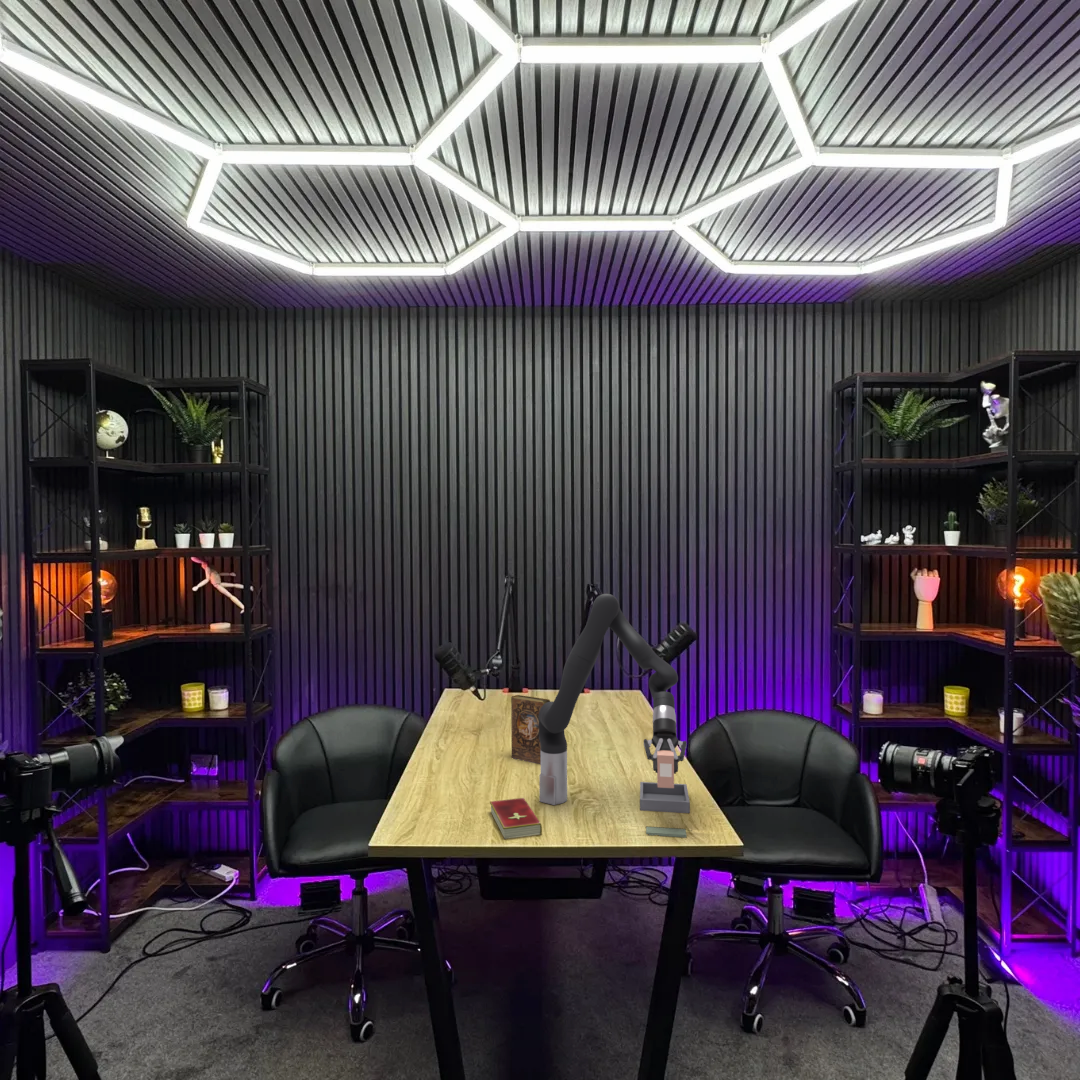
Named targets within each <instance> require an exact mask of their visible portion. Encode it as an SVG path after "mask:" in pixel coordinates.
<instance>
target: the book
mask: <svg viewBox="0 0 1080 1080" xmlns="http://www.w3.org/2000/svg"><path fill="white" fill-rule="evenodd" d="M510 698H511V701H510V702H511V708H510V709H511V712H510V713H511V716H510V717H511V718H510V720H511V723H510V724H511V725H510V726H511V733H510V734H511V736H510V737H511V759H512V758H513V759H514V760H517V759H519V760H518V761H522V760H524V761H523V762H527V761H528V762H529V763H531V764H532V763H533V764H538V765H541V747H540V741H539V711H540V709H541V707H542V706H543V705H544V704H545V703H547V702H551V700H550V699H549V698H542V697H536V696H535V697H534V696H529V695H522V694H521V695H520V694H517V695H512V696H511V697H510ZM513 759H512V760H513Z"/></svg>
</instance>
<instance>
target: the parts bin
mask: <svg viewBox="0 0 1080 1080" xmlns="http://www.w3.org/2000/svg"><path fill="white" fill-rule="evenodd" d="M690 803H691V802H690V796H689V790H688V785H687V784H686V783H674V788H660V787H658V785H657V782H652V781H651V782H650V781H649V782H648V781H640V782H639V811H645V812H647V811H648V812H665V813H676V814H677V813H682V814H690V811H691V809H690V808H691V807H690V806H691V804H690Z"/></svg>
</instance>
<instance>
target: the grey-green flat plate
mask: <svg viewBox="0 0 1080 1080" xmlns="http://www.w3.org/2000/svg"><path fill="white" fill-rule="evenodd" d="M645 827H646V830H645V835H646V834H649V835H648V836H654V835H659V836H658V837H670V838H671V837H672V838H685V839H686V838H687V831H686V828H677V827H666V826H665V827H663V826H661V827H660V826H645Z"/></svg>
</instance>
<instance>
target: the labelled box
mask: <svg viewBox="0 0 1080 1080" xmlns="http://www.w3.org/2000/svg"><path fill="white" fill-rule="evenodd" d="M657 768H658V772H657V773H656V775H657V776H656V781H657V782H656V783H657V785H658V787H660V788H674V784H675V774H674V753H673V752H671V751H668V750H660V751H657Z"/></svg>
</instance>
